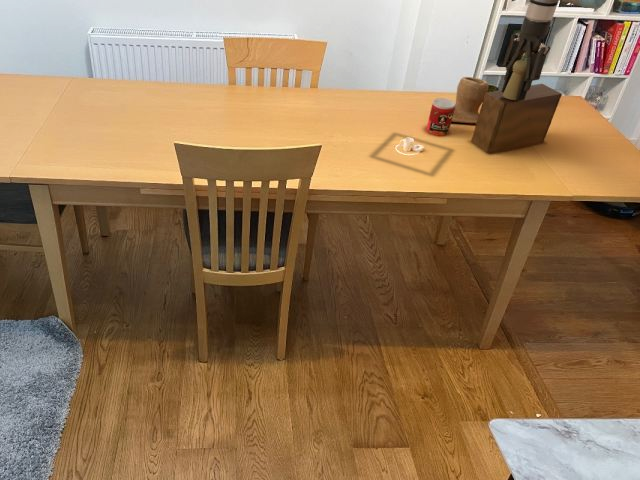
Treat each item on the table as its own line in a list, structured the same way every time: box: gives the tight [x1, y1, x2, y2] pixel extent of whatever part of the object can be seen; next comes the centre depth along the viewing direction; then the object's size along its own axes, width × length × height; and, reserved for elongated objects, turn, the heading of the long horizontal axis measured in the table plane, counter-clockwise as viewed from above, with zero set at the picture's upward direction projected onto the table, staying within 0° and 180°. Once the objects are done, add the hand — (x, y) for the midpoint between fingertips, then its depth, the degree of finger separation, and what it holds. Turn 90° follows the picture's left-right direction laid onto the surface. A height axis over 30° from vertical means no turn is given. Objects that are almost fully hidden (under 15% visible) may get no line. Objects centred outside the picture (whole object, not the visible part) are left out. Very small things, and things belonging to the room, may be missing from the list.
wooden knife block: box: [470, 75, 563, 155], centre depth 194 cm, size 23×24×9 cm
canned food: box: [426, 97, 456, 137], centre depth 203 cm, size 8×8×11 cm
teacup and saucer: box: [394, 137, 424, 156], centre depth 194 cm, size 9×8×4 cm
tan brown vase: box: [451, 76, 490, 124], centre depth 210 cm, size 15×12×15 cm
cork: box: [503, 59, 527, 100], centre depth 182 cm, size 6×6×11 cm
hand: (512, 95), depth 185 cm, fingers closed on cork, 6 cm apart
